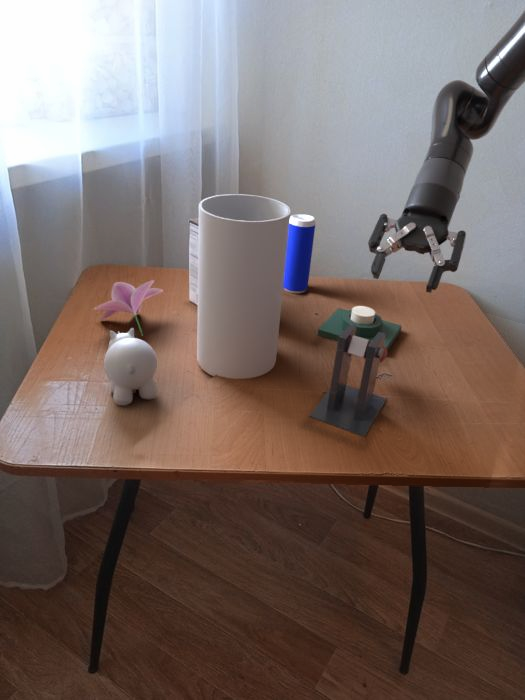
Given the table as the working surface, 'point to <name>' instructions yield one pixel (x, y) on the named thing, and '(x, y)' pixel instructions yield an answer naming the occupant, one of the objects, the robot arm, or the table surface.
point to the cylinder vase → (240, 283)
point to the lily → (127, 299)
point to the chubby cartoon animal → (130, 367)
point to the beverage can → (299, 253)
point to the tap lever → (362, 347)
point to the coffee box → (193, 259)
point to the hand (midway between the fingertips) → (401, 283)
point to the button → (362, 315)
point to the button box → (358, 327)
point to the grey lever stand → (352, 388)
